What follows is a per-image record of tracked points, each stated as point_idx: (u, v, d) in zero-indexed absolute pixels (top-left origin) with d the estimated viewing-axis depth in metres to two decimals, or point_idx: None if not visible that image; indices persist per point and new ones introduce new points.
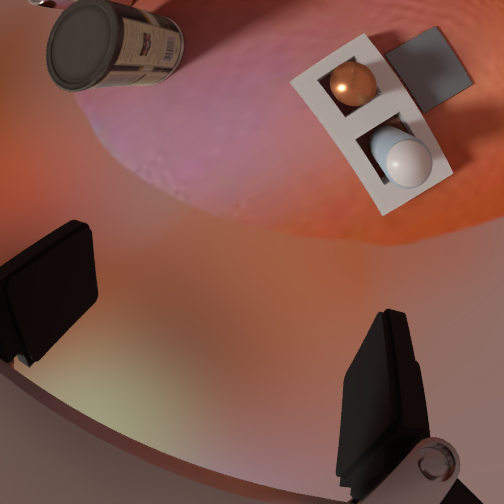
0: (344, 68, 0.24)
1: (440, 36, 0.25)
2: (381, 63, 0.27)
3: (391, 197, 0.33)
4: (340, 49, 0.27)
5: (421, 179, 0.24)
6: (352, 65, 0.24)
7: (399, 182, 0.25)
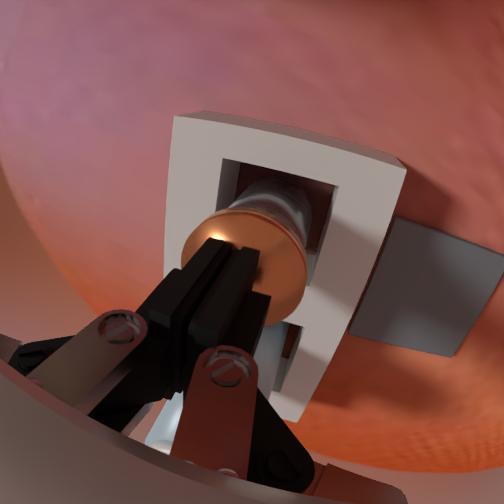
0: (254, 235, 0.10)
1: (496, 277, 0.15)
2: (367, 246, 0.13)
3: None
4: (327, 149, 0.12)
5: None
6: (278, 247, 0.10)
7: None
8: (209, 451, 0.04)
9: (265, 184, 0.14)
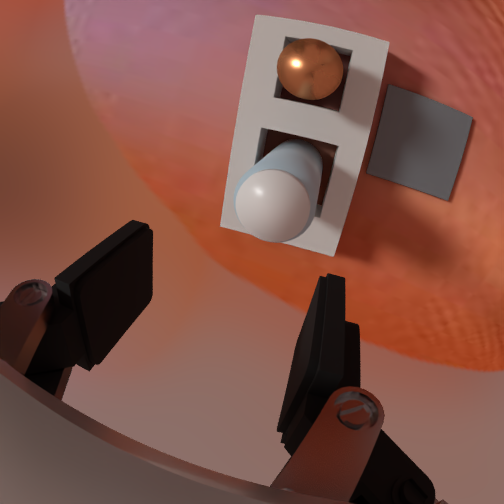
0: (317, 46, 0.17)
1: (466, 130, 0.21)
2: (372, 84, 0.20)
3: None
4: (344, 31, 0.18)
5: (270, 237, 0.18)
6: (329, 51, 0.17)
7: (240, 215, 0.18)
8: (315, 485, 0.04)
9: None
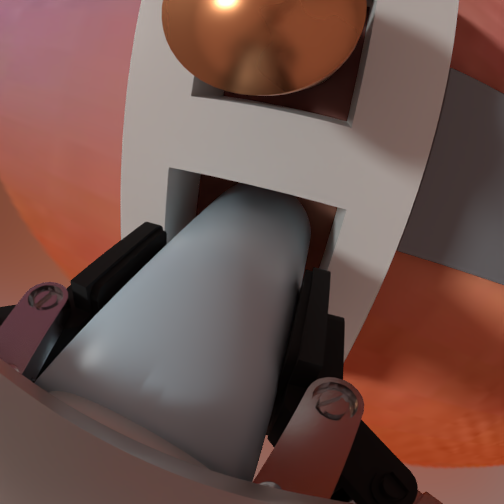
0: None
1: None
2: (432, 61, 0.07)
3: None
4: None
5: None
6: None
7: None
8: (297, 478, 0.04)
9: None
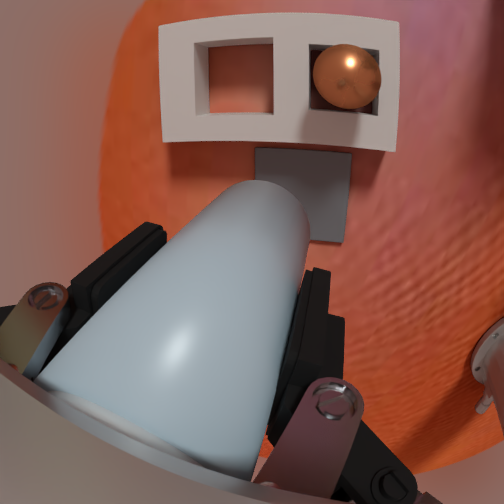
0: (373, 81, 0.16)
1: (329, 238, 0.28)
2: (346, 138, 0.21)
3: (174, 45, 0.20)
4: (396, 107, 0.19)
5: None
6: (370, 93, 0.17)
7: None
8: (297, 478, 0.04)
9: None
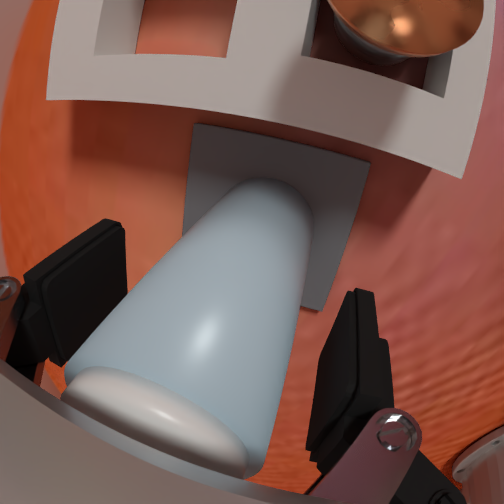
0: (465, 7, 0.05)
1: None
2: (371, 129, 0.10)
3: None
4: (480, 92, 0.08)
5: None
6: (457, 29, 0.05)
7: None
8: (347, 503, 0.04)
9: None
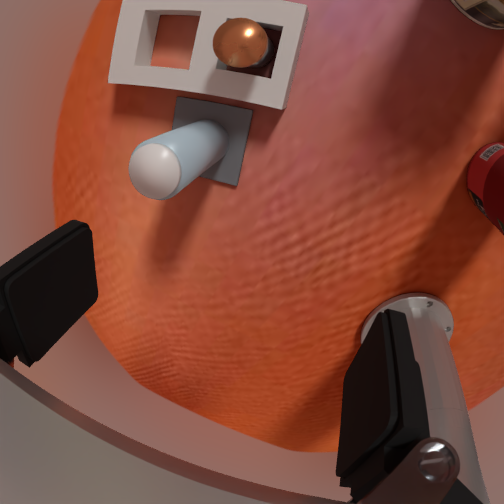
0: (258, 47, 0.21)
1: (224, 180, 0.33)
2: (241, 94, 0.26)
3: (131, 10, 0.23)
4: (288, 73, 0.24)
5: (154, 195, 0.22)
6: (254, 56, 0.21)
7: (132, 180, 0.22)
8: None
9: (271, 46, 0.24)
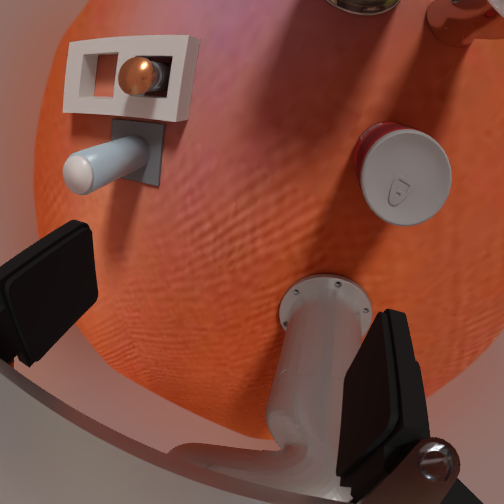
0: (146, 78, 0.28)
1: (149, 182, 0.40)
2: (147, 113, 0.33)
3: (74, 55, 0.31)
4: (178, 92, 0.31)
5: (78, 191, 0.29)
6: (144, 85, 0.28)
7: (65, 182, 0.29)
8: None
9: (169, 73, 0.31)
